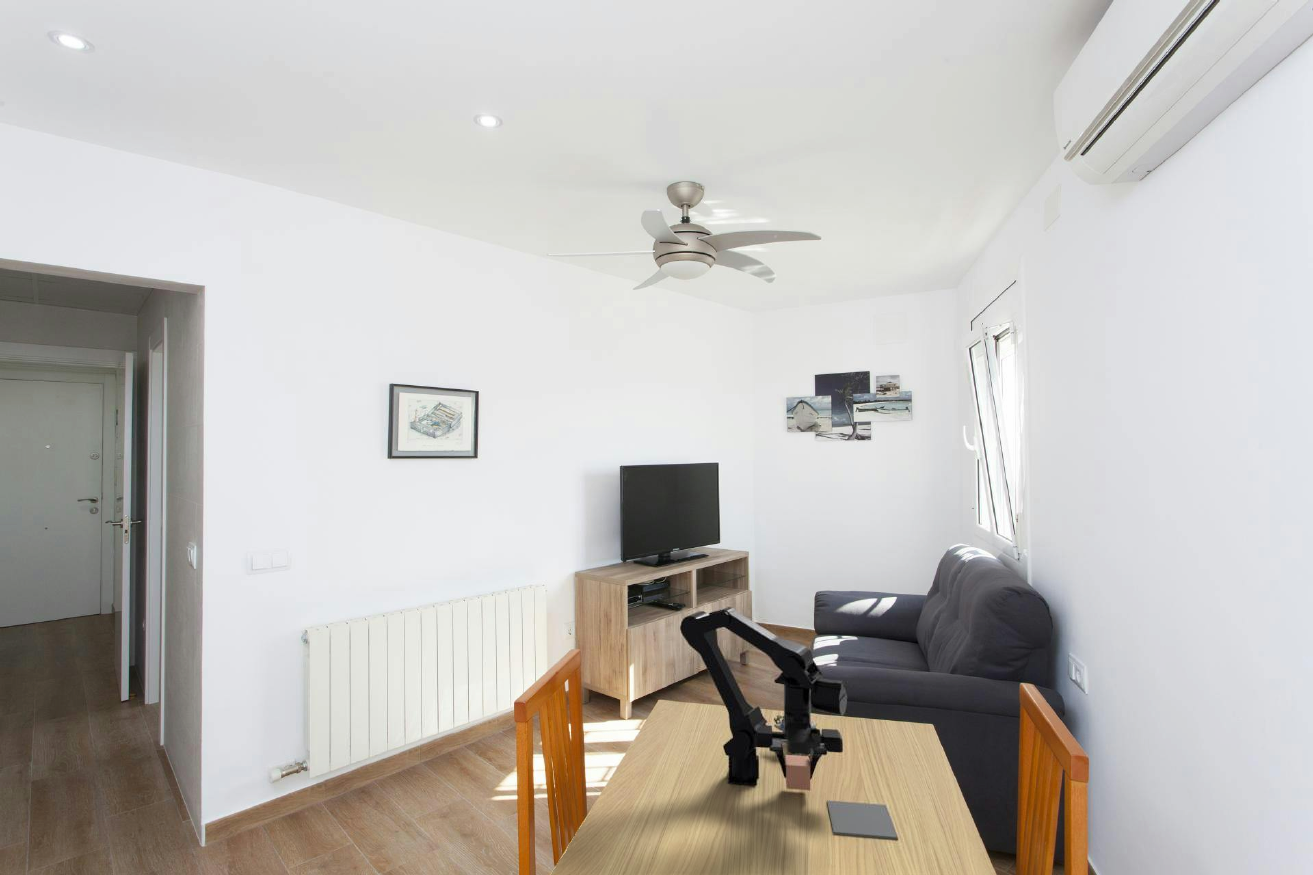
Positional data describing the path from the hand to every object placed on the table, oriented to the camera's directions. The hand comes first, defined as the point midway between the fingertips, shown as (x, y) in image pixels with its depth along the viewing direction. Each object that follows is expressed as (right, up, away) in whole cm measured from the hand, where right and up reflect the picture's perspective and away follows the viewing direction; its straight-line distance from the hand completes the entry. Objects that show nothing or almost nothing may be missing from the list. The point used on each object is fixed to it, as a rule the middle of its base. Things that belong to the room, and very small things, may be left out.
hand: (797, 777), depth 144 cm
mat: (+11, -3, -11) cm, 15 cm away
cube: (0, -1, 0) cm, 1 cm away
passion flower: (+4, -4, +22) cm, 23 cm away
